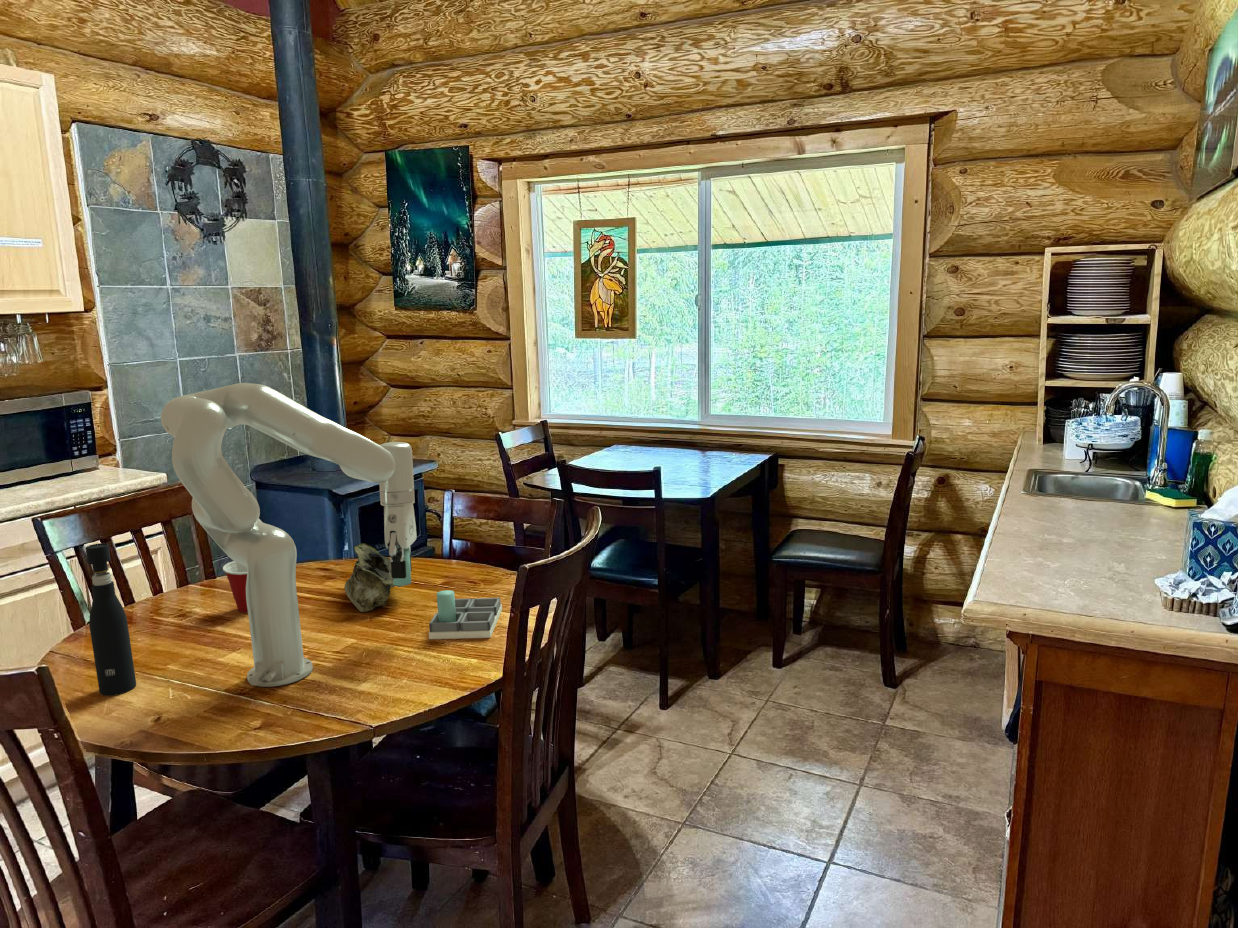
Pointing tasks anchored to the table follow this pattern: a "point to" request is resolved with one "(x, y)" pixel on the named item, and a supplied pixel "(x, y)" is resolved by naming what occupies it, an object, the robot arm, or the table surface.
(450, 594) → the pin board
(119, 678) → the black water bottle
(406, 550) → the teal peg
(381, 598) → the hollow geode rock
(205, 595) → the table surface
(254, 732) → the table surface
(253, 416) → the robot arm
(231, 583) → the plastic cup
